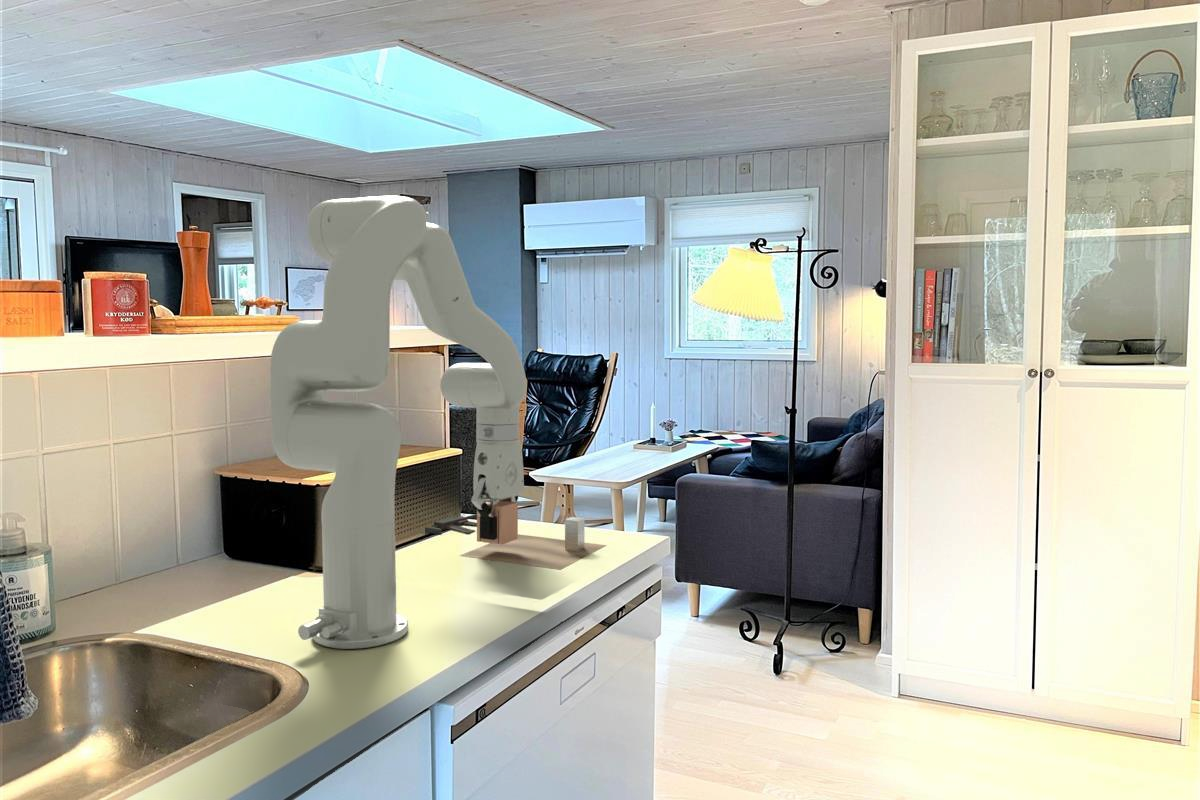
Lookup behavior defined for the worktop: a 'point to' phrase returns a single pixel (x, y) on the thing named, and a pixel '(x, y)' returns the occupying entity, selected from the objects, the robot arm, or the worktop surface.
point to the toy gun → (450, 525)
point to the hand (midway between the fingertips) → (497, 534)
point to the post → (574, 534)
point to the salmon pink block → (503, 523)
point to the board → (533, 552)
